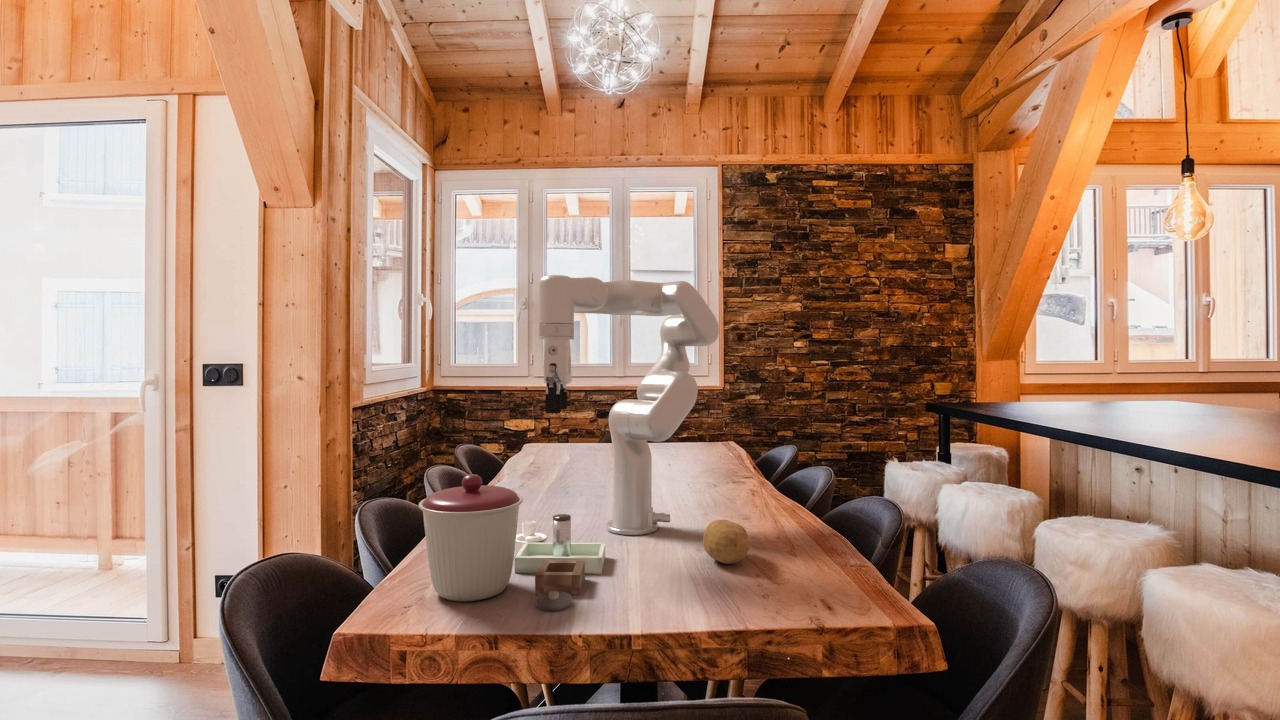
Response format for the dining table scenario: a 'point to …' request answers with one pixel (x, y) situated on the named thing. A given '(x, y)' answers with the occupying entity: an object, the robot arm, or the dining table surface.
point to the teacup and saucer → (530, 533)
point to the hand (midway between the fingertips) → (556, 411)
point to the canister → (471, 538)
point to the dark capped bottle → (562, 535)
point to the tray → (537, 552)
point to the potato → (726, 541)
